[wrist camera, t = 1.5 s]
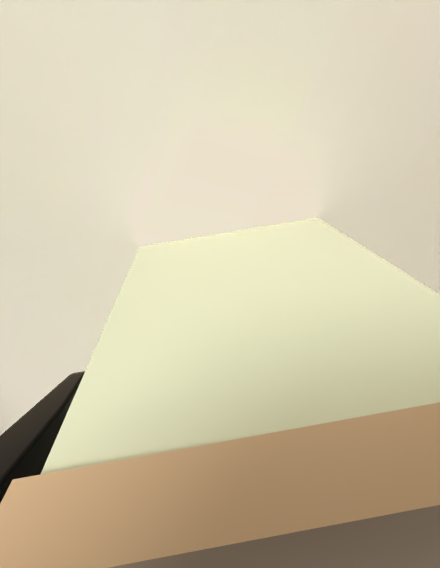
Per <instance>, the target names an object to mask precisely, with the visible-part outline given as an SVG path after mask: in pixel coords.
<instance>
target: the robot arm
mask: <svg viewBox="0 0 440 568" xmlns="http://www.w3.org/2000/svg"><path fill="white" fill-rule="evenodd" d="M84 373H85V371H83V372H77V373H73V374H71V375H69V376H68V377H67V378H66V379H65V380H64V381H62V382H61V383H60V384H59V385H58V386H57V387H56V388H54V389H53V390H52V391H51V392H50V393H49V394H48V395H46V396H45V397H44V398H43V399H42V400H41V401H40V402H38V403H37V404H36V405H35V406H34V407H33V408H32V409H30V410H29V411H28V412H27V413H26V414H25V415H24V416H22V417H21V418H20V419H19V420H18V421H17V422H16V423H14V424H13V425H12V426H11V427H10V428H9V429H8V430H6V431H5V432H4V433H3V434H2V435H1V436H0V503H1V501H2V499H3V497H4V495H5V494H6V492H7V490H8V488H9V486H10V484H11V482H12V480H13V479H18V478H24V477H29V476H35V475H40V474H41V472H42V470H43V467H44V465H45V463H46V460H47V458H48V456H49V453H50V451H51V449H52V447H53V444H54V442H55V440H56V437H57V435H58V433H59V430H60V428H61V426H62V424H63V421H64V419H65V417H66V414H67V412H68V410H69V408H70V405H71V403H72V401H73V398H74V396H75V394H76V391H77V389H78V387H79V385H80V382H81V380H82V378H83V375H84Z"/></svg>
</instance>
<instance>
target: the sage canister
mask: <svg viewBox="0 0 440 568" xmlns="http://www.w3.org/2000/svg"><path fill="white" fill-rule="evenodd" d="M0 568H440V294H438V293H437V292H435V291H433V290H432V289H430V288H429V287H427V286H425V285H424V284H422V283H421V282H419V281H418V280H416V279H414V278H413V277H411V276H410V275H408V274H406V273H405V272H403V271H402V270H400V269H399V268H397V267H395V266H394V265H392V264H391V263H389V262H387V261H386V260H384V259H383V258H381V257H379V256H378V255H376V254H375V253H373V252H372V251H370V250H368V249H367V248H365V247H364V246H362V245H360V244H359V243H357V242H356V241H354V240H353V239H351V238H349V237H348V236H346V235H345V234H343V233H341V232H340V231H338V230H337V229H335V228H333V227H332V226H330V225H329V224H327V223H326V222H324V221H322V220H321V219H319V218H318V217H316V218H310V219H304V220H298V221H292V222H286V223H280V224H273V225H267V226H261V227H255V228H249V229H243V230H237V231H231V232H225V233H219V234H212V235H206V236H200V237H194V238H188V239H182V240H176V241H170V242H164V243H158V244H151V245H145V246H140V247H139V249H138V251H137V254H136V256H135V258H134V261H133V263H132V265H131V267H130V270H129V272H128V274H127V277H126V279H125V281H124V284H123V286H122V288H121V290H120V293H119V295H118V297H117V300H116V302H115V304H114V306H113V309H112V311H111V313H110V316H109V318H108V320H107V323H106V325H105V327H104V329H103V332H102V334H101V336H100V339H99V341H98V343H97V346H96V348H95V350H94V352H93V355H92V357H91V359H90V362H89V364H88V366H87V368H86V371H85V373H84V375H83V378H82V380H81V382H80V385H79V387H78V389H77V391H76V394H75V396H74V398H73V401H72V403H71V405H70V408H69V410H68V412H67V414H66V417H65V419H64V421H63V424H62V426H61V428H60V430H59V433H58V435H57V437H56V440H55V442H54V444H53V447H52V449H51V451H50V453H49V456H48V458H47V460H46V463H45V465H44V467H43V470H42V472H41V474H40V475H35V476H29V477H24V478H18V479H13V480H12V482H11V484H10V486H9V488H8V490H7V492H6V494H5V495H4V497H3V499H2V501H1V503H0Z"/></svg>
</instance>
